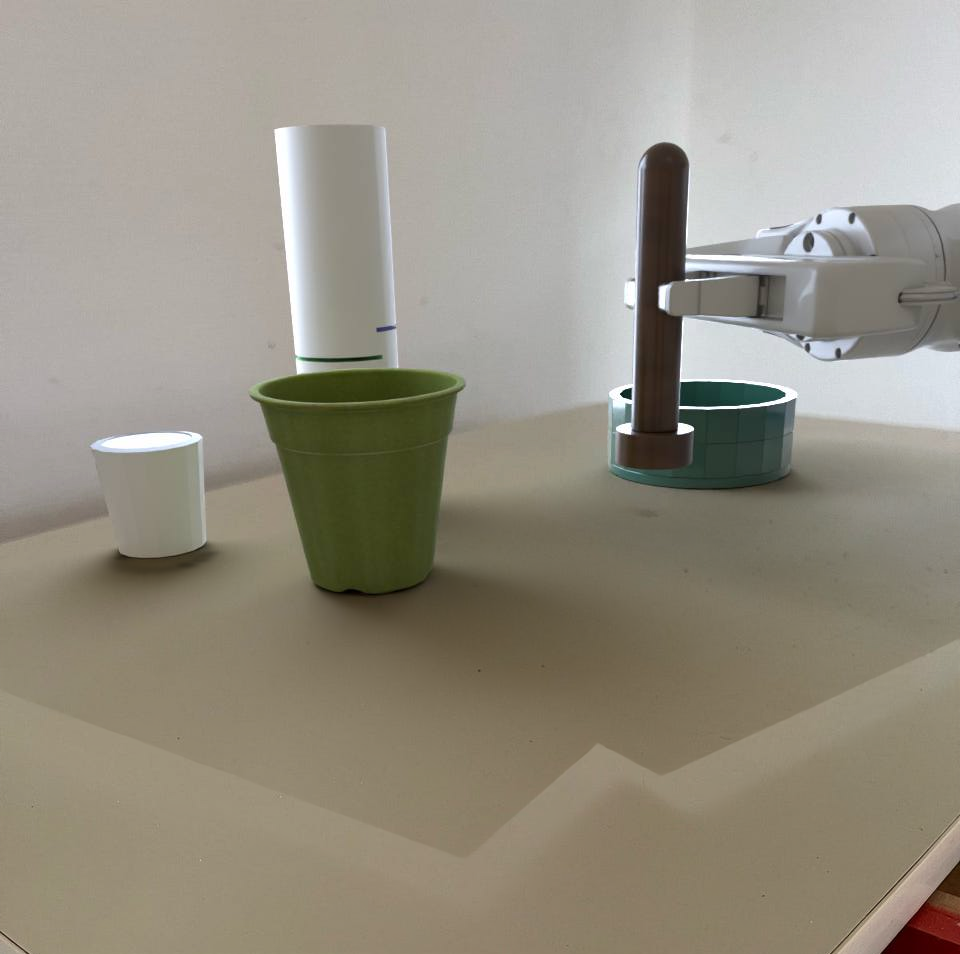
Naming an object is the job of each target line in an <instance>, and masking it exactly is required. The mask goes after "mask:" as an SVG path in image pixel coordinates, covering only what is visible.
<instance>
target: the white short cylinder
mask: <svg viewBox="0 0 960 954" xmlns="http://www.w3.org/2000/svg"><path fill="white" fill-rule="evenodd" d="M203 439H204V438H203V436H202V435H200V434H199V433H196V432H191V431H183V430H182V431H181V430H148V431H147V430H146V431H139V432H130V433H125V434H118V435H114V436H110V437H105V438H102V439H99V440H96V441H95V442H93V443H92V444H90V449H91V453H92V456H93V461H94V464H95V468H96V472H97V476H98V478H99V482H100V487H101V490H102V494H103V497H104V501H105V504H106V509H107V512H108V517H109V521H110V523H111V528H112V531H113V534H114V538H115V543H116V545H117V550H118V552H119V554H121V555H124V556H126V557H130V558H140V559H152V558H165V557H172V556H179V555H183V554H186V553H189V552H193V551H195V550H197V549H199V548H201V547H203V546H204V545H205V544H206V543H207V522H206V497H205V495H206V493H205V472H204V470H205V468H204V466H205V465H204V443H203Z"/></svg>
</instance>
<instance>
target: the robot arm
mask: <svg viewBox="0 0 960 954" xmlns="http://www.w3.org/2000/svg"><path fill="white" fill-rule="evenodd" d="M634 291H635V276H632V277H629V278H627V280H626V281H625V283H624V291H623V292H624V293H623V294H624V295H623V303H624V306H625V307H626V308H627V309H628V310H632V311H634ZM658 297H659V299H658V302H657V308H658V311H659V312H661V313H662V314H666V315H671V316H683V319H690V320H696V321H697V320H698V321H703V322H709V323H717V324H723V325H730V326H734V327H741V328H748V329H752V330H755V331H759V332H762V333H764V334H768V335H772V336H776V337H778V338H781V339H784V340H786V341H787V342H789V343H791V344H792V345H794V346H796V347H799V348H801V349H803V350H804V351H805V352H806V353H807V354H808V355H810V356H811V357H812V358H814V359H816V360H818V361H820V362H826V363H827V362H828V363H831V362H833V363H834V362H843V361H845V362H846V361H855V360H856V361H857V360H869V359H871V360H872V359H881V358H893V357H895V358H896V357H900V356H904V355H908V354H910V353H912V352H915V351H916V350H919V349H928V350H931V351H935V352H941V353H956V352H960V202H959V203H953V204H949V205H946V206H942V207H940V208H938V209H935V210H933V209H932V210H931V209H928V208H926V207H923V206H920V205H916V204H874V205H845V206H844V205H843V206H841V205H839V206H833V207H829V208H827V209H825V210H823V211H821V212H820V213H818V214H817V215H814V216H813V215H812V216H811V217H809V218H806V219H804V220H802V221H799V222H796V223H792V224H787V225H782V226H773V227H769V228H764V229H763V228H762V229H759V230H758V231H757V233H756V237H755V238H754V237H753V238H746V239H741V240H734V241H733V240H732V241H727V242H720V243H712V244H707V245H701V246H693V247H688V248H687V247H686V268H685V280H674V281H663V282H662V283H661V284H660V285H659V287H658Z"/></svg>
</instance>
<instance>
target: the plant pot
mask: <svg viewBox="0 0 960 954" xmlns="http://www.w3.org/2000/svg"><path fill="white" fill-rule="evenodd" d="M466 386H467V380H466V379H465V377H463V376H462V375H460V374H455V373H453V372H452V373H451V372H448V371H442V370H434V369H424V368H411V367H410V368H409V367H408V368H406V367H399V368H359V369H341V370H328V371H319V372H310V373H300V374H297V373H295V374H289V375H283V376H282V375H281V376H279V377H274V378H270V379H267V380H264V381H261V382H259V383H256V384H254V385H252V386H251V387H250V388H249V390H248V394H249V397H250V398H251V399H252V400H253V401H254V402H257V403H259V405H260V409H261V411H262V415H263V418H264V421H265V425H266V428H267V432H268V435H269V439H270V440H271V442H272V443H273V444H275V449H276V452H277V456H278V459H279V463H280V467H281V470H282V474H283V478H284V482H285V484H286V485H285V486H286V489H287V493H288V496H289V500H290V503H291V506H292V507H291V508H292V511H293V515H294V520H295V523H296V526H297V531H298V534H299V537H300V541H301V545H302V548H303V553H304V557H305V560H306V564H307V568H308V572H309V576H310V578H311V580H312V581H313V583H315V584H316V586H319V587H320V588H323V589H326V590H327V591H331V592H334V593H343V592H344V591H346V590H356V591H359V592H362V593H364V594H372V595H379V594H380V595H381V594H389V593H392V592H394V591H399V590H403V589H410V588H412V587H414V586H416V585H418V584H420V583H422V582H423V581H425V580H426V579H427V577H428V575H429V573H430V572H432V571H433V570H434V564H435V555H436V547H437V538H438V537H437V536H438V528H439V521H440V520H439V519H440V511H441V503H442V493H443V486H444V485H443V484H444V475H445V467H446V459H447V450H448V444H449V435H450V434H451V433H452V431H453V428H454V421H455V413H456V406H457V401H458V393H461V391H463V390H464V388H466Z"/></svg>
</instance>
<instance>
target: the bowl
mask: <svg viewBox="0 0 960 954" xmlns="http://www.w3.org/2000/svg"><path fill="white" fill-rule="evenodd" d="M797 397H798V393H797V392H796V391H794V390H793V389H791V388H789V387H784V386H781V385H775V384H771V383H766V382H765V383H764V382H755V381H747V380H731V379H681V383H680V405H679V423H682V424H686V425H689V426H691V427H693V428H694V437H693V457H692V463H691V464H690V465H688V466H685V467H681V468H676V469H668V470H641V469H633V468H627V467H623V466H620V465H618V464H617V463H616V462H615V440H616V428H617V427H618V426H621V425H624V424H628V423H631V406H632V384H628V385H627V384H626V385H624V386H620V387H617V388H613V390H611V391H610V392H609V393H608V397H607V398H608V401H607V447H606V449H607V453H606V454H607V467H608V470H609V471H610V473H611V474H613V475H614V476H617V477H619V478H622V479H624V480H627V481H631V482H635V483H640V484H644V485H649V486H657V487H665V488H675V489H676V488H677V489H696V490H698V489H700V490H701V489H702V490H706V489H707V490H708V489H709V490H711V489H712V490H713V489H714V490H715V489H733V488H734V489H735V488H744V487H752V486H758V485H763V484H768V483H772V482H775V481H779V480H781V479H782V478H783V479H784V478H785V477H786V476H788V474H789V473H790V472H791V465H792V464H791V463H792V455H793V454H792V453H793V443H794V442H793V441H794V431H795V418H796V409H797Z"/></svg>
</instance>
